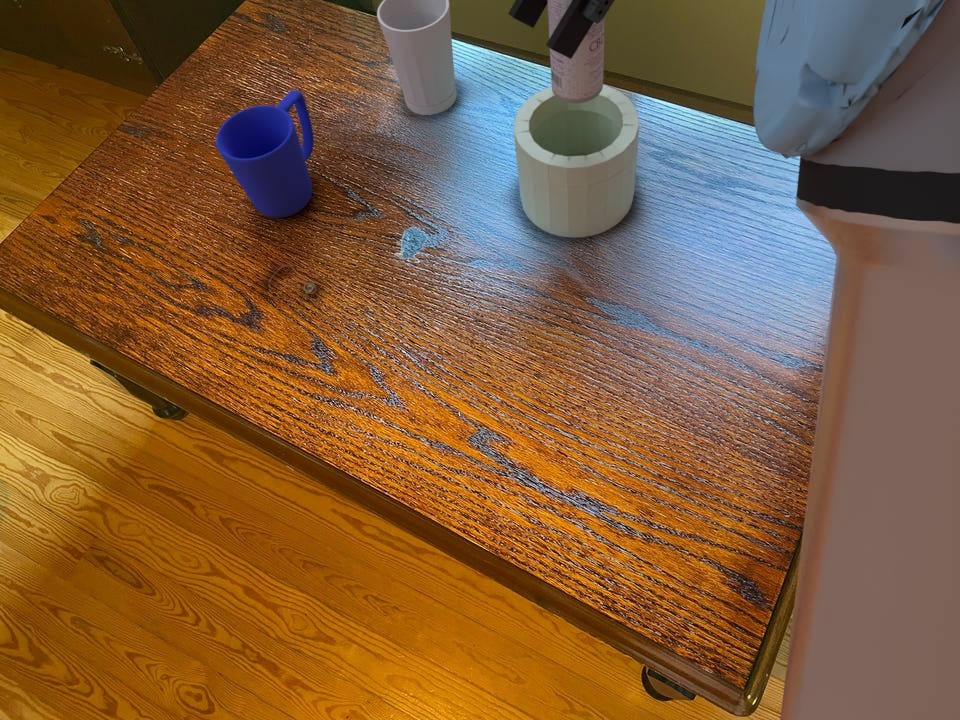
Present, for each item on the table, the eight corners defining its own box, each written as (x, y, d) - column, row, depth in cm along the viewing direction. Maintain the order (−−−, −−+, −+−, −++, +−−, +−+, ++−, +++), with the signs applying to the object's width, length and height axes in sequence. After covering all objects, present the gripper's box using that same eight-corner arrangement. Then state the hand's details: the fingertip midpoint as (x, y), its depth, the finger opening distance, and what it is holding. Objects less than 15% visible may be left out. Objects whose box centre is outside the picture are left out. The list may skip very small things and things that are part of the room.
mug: (350, 159, 91) (326, 89, 83) (296, 235, 86) (265, 168, 78) (292, 144, 94) (263, 75, 86) (236, 216, 89) (199, 150, 80)
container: (598, 106, 70) (600, -57, 58) (546, 101, 71) (538, -59, 59) (607, 71, 73) (611, -93, 60) (557, 67, 74) (551, -94, 61)
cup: (457, 120, 93) (441, 31, 83) (392, 119, 94) (369, 31, 84) (468, 75, 97) (455, -15, 87) (406, 74, 98) (385, -14, 88)
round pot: (654, 181, 84) (662, 107, 76) (592, 255, 80) (593, 185, 72) (562, 140, 89) (560, 67, 81) (499, 208, 85) (489, 137, 76)
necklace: (314, 295, 81) (311, 290, 80) (265, 292, 82) (262, 287, 81) (322, 271, 83) (320, 265, 82) (275, 267, 84) (272, 262, 83)
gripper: (836, -202, 53) (631, 102, 64) (663, -276, 62) (508, 2, 72) (795, -269, 47) (577, 77, 58) (611, -340, 56) (451, -28, 67)
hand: (539, 35), depth 65 cm, fingers closed on container, 5 cm apart
